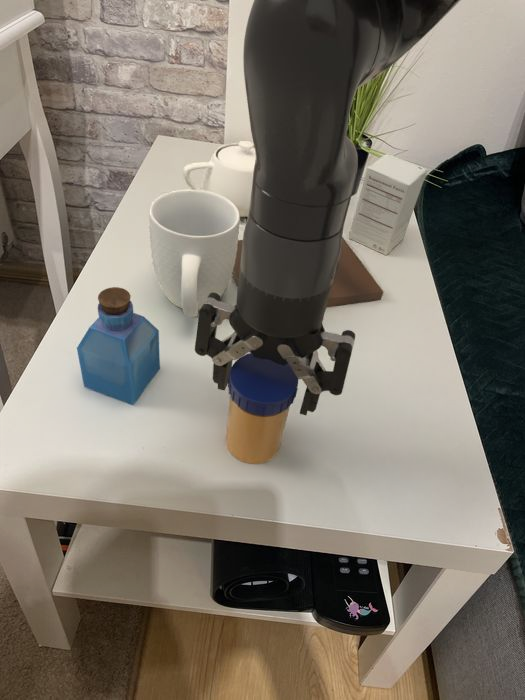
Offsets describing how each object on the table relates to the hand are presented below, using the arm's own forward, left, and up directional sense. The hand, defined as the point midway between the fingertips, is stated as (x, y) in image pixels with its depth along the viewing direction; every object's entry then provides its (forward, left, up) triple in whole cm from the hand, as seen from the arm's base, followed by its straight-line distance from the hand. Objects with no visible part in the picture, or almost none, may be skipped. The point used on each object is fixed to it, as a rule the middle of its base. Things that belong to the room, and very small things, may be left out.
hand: (264, 396), depth 53 cm
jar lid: (+1, +1, +4) cm, 4 cm away
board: (-15, -26, -6) cm, 31 cm away
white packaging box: (-32, -33, -7) cm, 47 cm away
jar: (+1, +1, -6) cm, 6 cm away
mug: (+2, -23, -7) cm, 24 cm away
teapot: (-13, -47, -7) cm, 49 cm away
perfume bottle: (+13, -11, -7) cm, 18 cm away
